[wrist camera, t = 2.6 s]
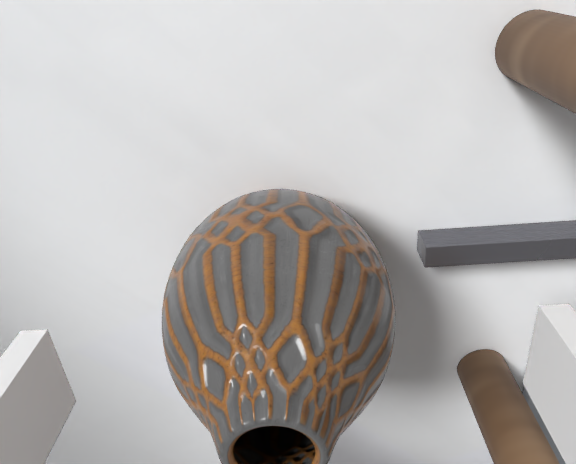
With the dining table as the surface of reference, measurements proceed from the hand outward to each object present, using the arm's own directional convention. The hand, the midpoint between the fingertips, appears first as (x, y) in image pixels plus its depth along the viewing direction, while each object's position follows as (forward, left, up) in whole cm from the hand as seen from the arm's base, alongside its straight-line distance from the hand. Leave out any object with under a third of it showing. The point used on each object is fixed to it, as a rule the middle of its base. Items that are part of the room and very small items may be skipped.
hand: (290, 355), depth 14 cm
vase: (0, 0, -6) cm, 6 cm away
